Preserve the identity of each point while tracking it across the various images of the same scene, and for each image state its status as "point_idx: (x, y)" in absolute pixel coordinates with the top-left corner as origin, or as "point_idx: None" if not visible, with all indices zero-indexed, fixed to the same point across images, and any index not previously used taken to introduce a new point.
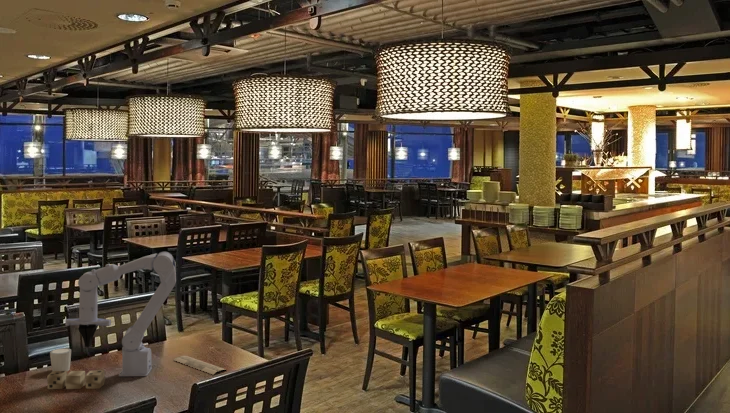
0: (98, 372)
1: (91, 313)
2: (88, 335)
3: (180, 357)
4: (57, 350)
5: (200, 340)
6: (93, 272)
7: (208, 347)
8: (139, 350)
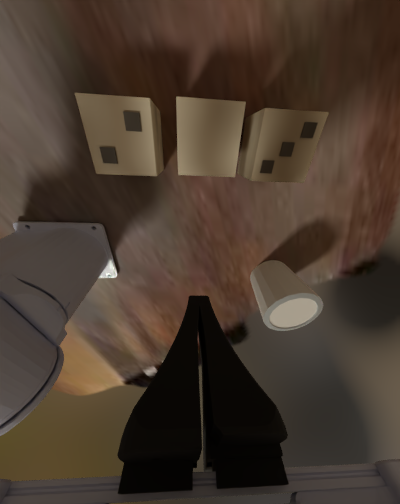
0: (107, 144)
1: None
2: (186, 354)
3: None
4: (301, 317)
5: (63, 383)
6: None
7: None
8: None
